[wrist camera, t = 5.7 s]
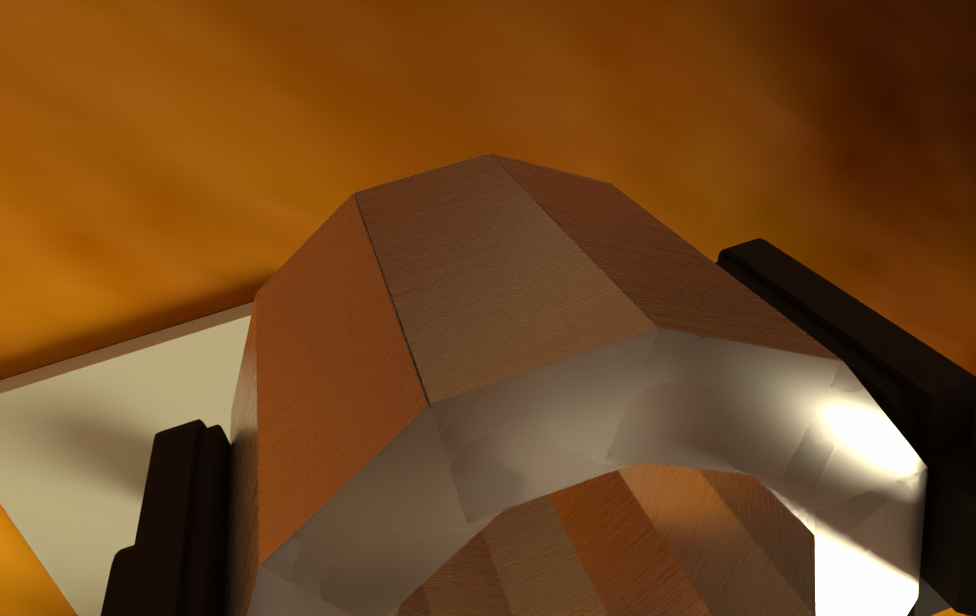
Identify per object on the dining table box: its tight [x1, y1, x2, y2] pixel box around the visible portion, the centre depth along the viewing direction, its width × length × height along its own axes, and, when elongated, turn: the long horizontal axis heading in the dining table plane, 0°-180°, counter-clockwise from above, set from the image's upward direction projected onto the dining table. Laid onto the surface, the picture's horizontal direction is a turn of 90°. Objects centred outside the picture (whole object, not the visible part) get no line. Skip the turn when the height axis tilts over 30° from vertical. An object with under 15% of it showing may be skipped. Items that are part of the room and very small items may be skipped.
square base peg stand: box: [0, 302, 254, 616], centre depth 27 cm, size 12×12×7 cm
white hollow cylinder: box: [224, 153, 928, 616], centre depth 10 cm, size 7×7×5 cm
